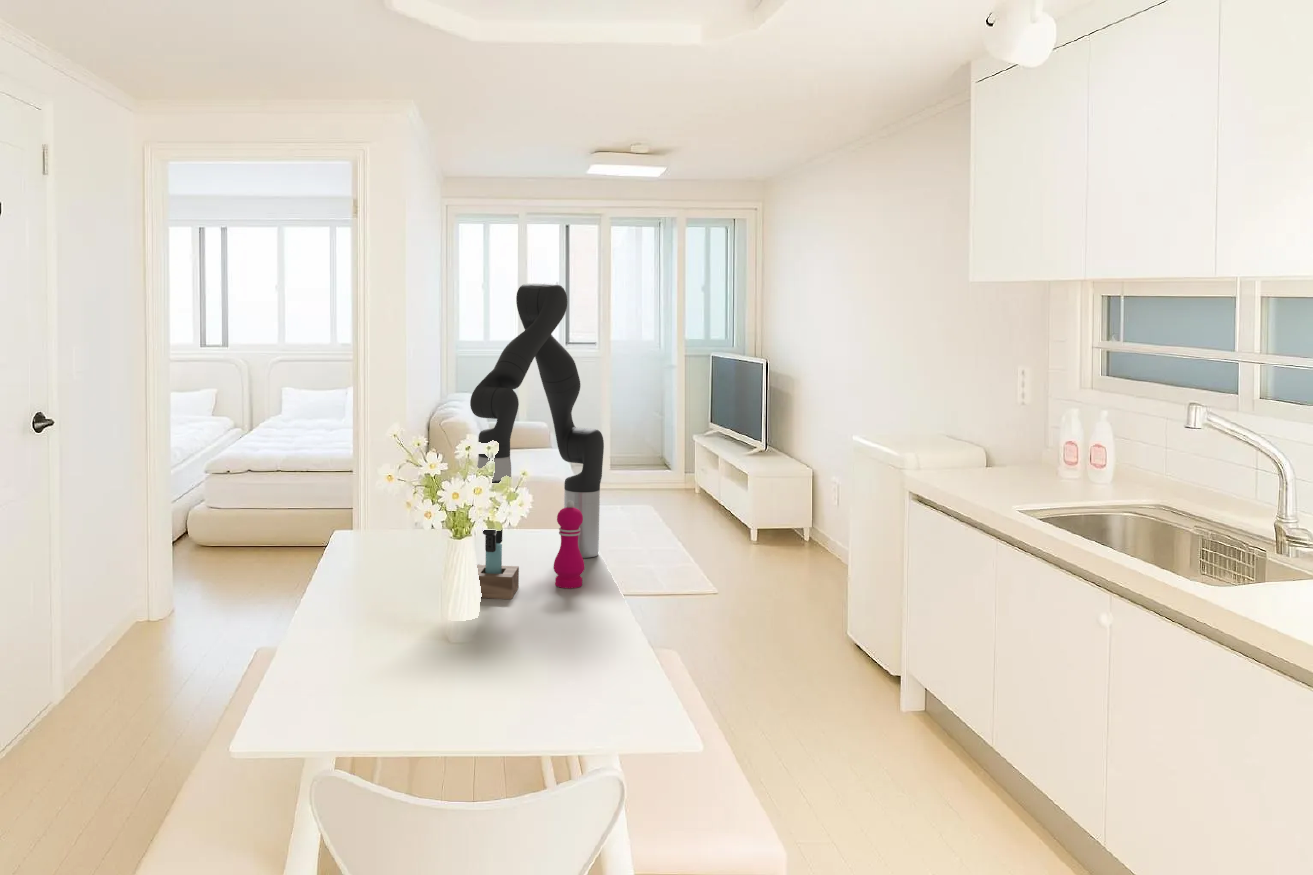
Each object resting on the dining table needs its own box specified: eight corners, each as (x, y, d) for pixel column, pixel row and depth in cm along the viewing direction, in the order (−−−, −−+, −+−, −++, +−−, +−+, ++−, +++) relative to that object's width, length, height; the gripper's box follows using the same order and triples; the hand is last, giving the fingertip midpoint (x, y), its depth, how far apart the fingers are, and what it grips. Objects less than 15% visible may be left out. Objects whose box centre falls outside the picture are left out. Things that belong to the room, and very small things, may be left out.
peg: (486, 585, 249) (487, 542, 248) (502, 586, 249) (503, 543, 248) (483, 589, 246) (484, 545, 245) (499, 590, 246) (500, 546, 245)
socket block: (475, 585, 253) (475, 564, 252) (518, 587, 252) (518, 566, 252) (466, 597, 243) (466, 575, 242) (511, 599, 242) (511, 577, 242)
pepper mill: (586, 582, 259) (588, 498, 257) (581, 589, 252) (583, 504, 249) (556, 580, 260) (557, 497, 257) (550, 588, 253) (551, 502, 250)
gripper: (483, 470, 251) (483, 539, 254) (471, 481, 237) (471, 554, 239) (515, 471, 251) (515, 540, 253) (505, 482, 237) (505, 555, 239)
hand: (493, 547), depth 246 cm, fingers open, 8 cm apart
